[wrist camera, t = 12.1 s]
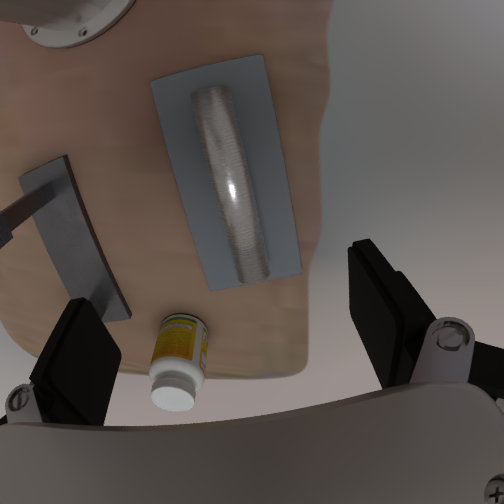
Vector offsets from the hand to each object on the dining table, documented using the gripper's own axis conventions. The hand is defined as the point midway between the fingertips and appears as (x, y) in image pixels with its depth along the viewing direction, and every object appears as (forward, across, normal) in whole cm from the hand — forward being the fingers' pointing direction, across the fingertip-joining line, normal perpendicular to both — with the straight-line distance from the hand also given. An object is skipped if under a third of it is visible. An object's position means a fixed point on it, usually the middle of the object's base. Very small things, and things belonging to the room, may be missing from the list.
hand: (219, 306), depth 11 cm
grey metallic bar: (+15, 0, +1) cm, 15 cm away
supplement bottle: (+17, +9, +16) cm, 25 cm away
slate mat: (+17, 0, +1) cm, 17 cm away
